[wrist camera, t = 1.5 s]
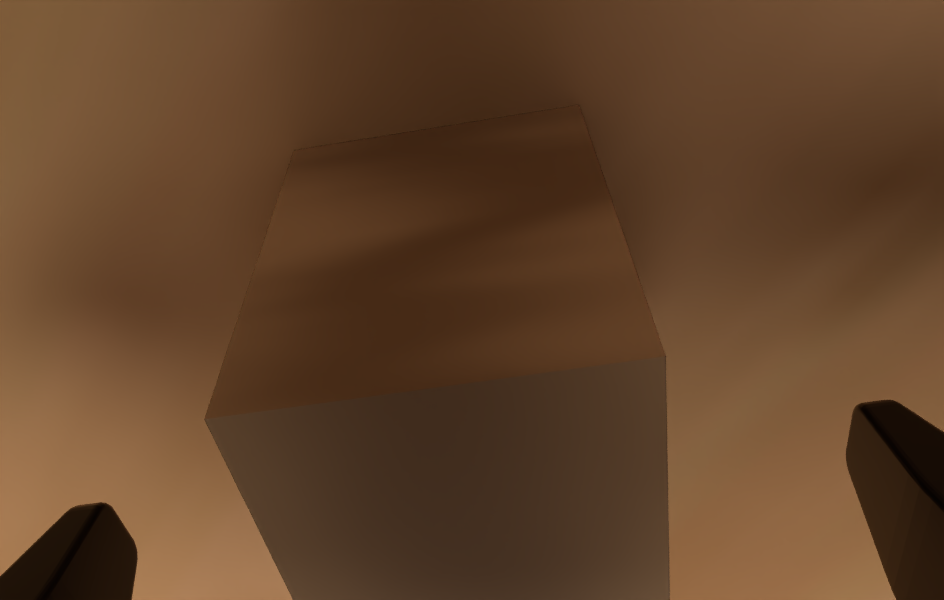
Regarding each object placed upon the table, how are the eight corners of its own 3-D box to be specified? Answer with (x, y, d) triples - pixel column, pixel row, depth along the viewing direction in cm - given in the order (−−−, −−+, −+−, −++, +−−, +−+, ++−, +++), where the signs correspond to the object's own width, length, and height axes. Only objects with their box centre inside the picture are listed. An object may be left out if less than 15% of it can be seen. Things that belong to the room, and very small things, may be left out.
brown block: (578, 103, 12) (665, 356, 8) (597, 329, 15) (669, 623, 10) (294, 149, 13) (204, 419, 8) (361, 363, 15) (324, 662, 11)
